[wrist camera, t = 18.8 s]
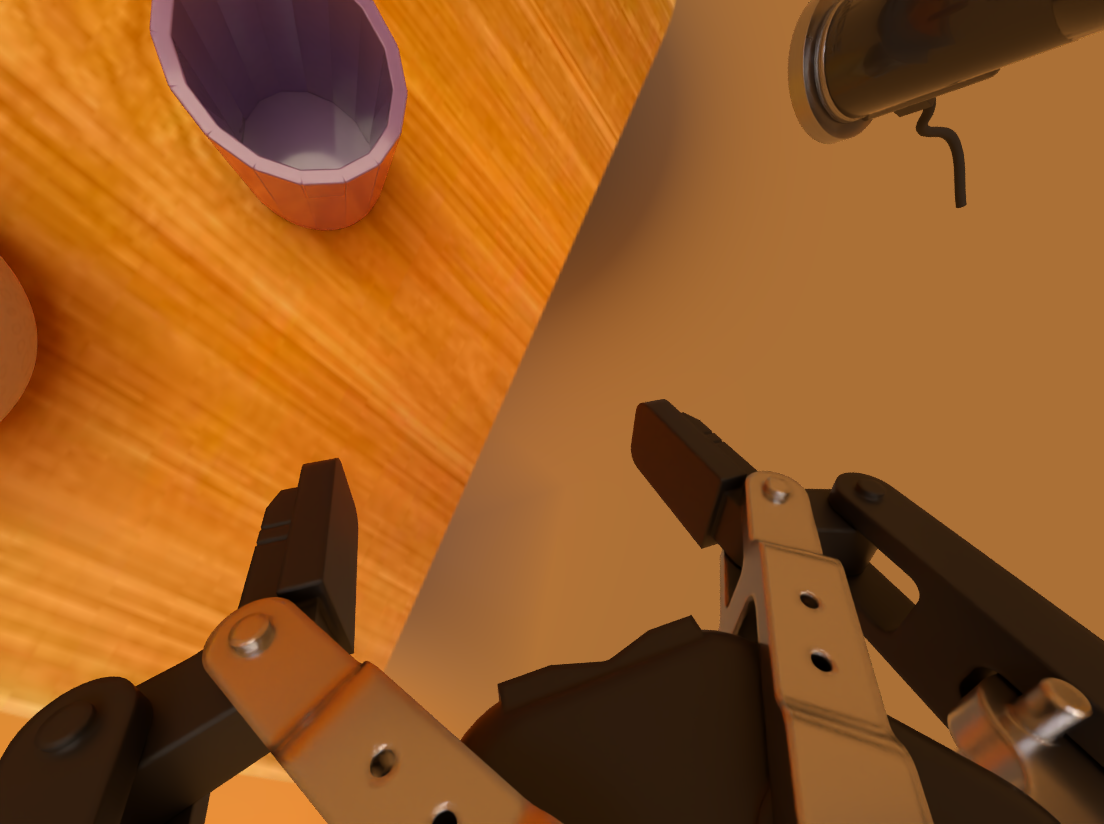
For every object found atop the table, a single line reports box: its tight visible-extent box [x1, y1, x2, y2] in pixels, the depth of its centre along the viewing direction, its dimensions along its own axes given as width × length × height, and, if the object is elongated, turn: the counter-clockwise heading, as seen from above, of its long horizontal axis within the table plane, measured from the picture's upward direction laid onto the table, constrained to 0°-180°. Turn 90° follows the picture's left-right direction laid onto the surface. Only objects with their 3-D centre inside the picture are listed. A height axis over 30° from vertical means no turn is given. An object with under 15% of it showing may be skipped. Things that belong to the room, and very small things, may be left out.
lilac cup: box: [150, 0, 407, 230], centre depth 17 cm, size 6×6×10 cm
